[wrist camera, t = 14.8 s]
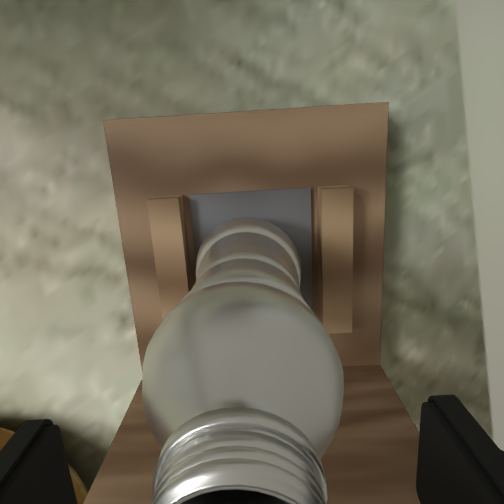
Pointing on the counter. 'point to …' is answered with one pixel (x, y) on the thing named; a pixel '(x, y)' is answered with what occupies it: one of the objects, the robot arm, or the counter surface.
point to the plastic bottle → (242, 378)
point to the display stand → (310, 253)
